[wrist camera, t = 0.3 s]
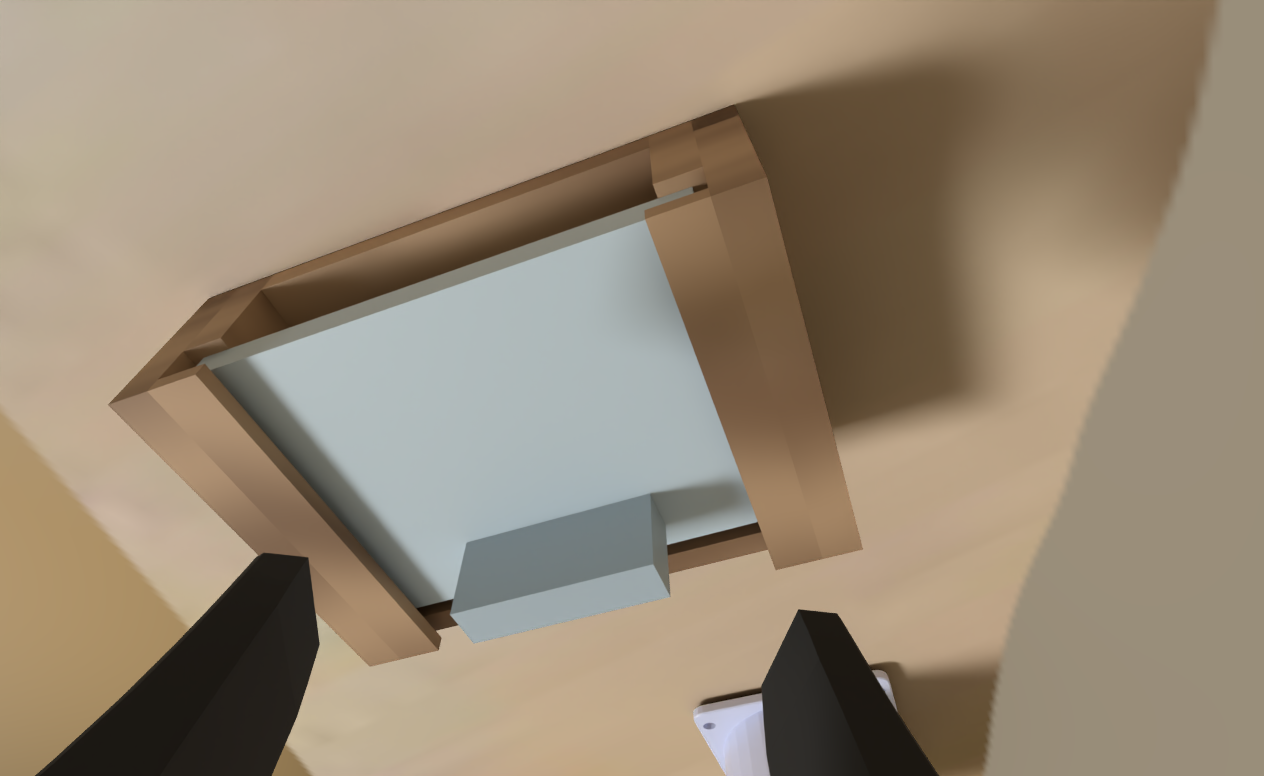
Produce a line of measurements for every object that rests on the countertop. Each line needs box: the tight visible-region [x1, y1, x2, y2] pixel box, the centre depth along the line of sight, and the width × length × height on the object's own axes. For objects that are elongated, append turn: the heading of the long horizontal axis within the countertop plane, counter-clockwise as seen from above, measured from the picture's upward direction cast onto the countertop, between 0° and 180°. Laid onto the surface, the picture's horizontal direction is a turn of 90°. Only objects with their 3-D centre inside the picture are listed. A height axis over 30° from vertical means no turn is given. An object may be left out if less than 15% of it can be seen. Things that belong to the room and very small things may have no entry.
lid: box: [197, 187, 758, 643], centre depth 16 cm, size 9×11×3 cm
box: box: [108, 105, 863, 666], centre depth 18 cm, size 10×14×4 cm
